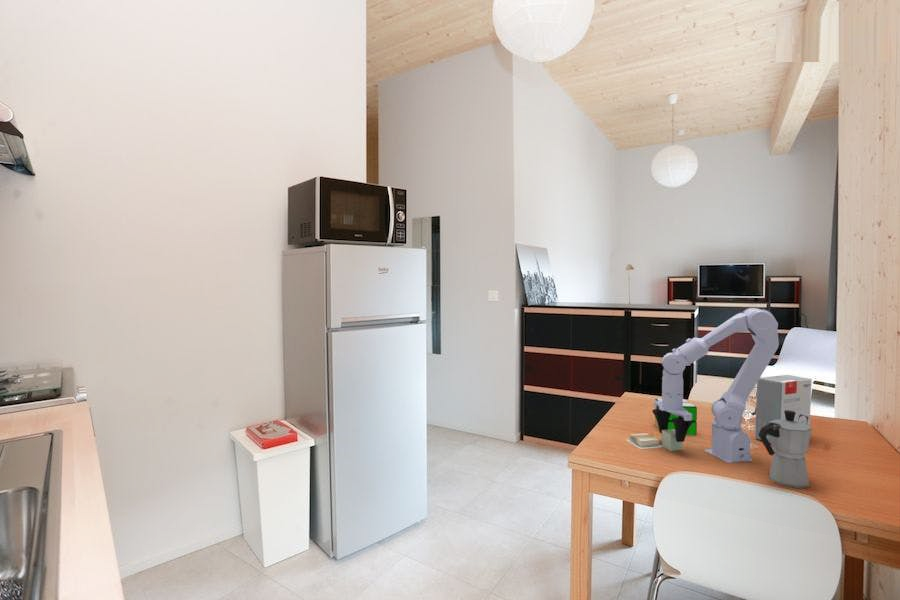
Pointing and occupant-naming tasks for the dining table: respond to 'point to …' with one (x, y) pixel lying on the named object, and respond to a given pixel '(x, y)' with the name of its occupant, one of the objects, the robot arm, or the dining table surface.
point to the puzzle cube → (687, 407)
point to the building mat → (643, 447)
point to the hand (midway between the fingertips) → (671, 436)
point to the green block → (670, 440)
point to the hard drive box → (782, 400)
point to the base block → (644, 440)
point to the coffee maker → (787, 450)
